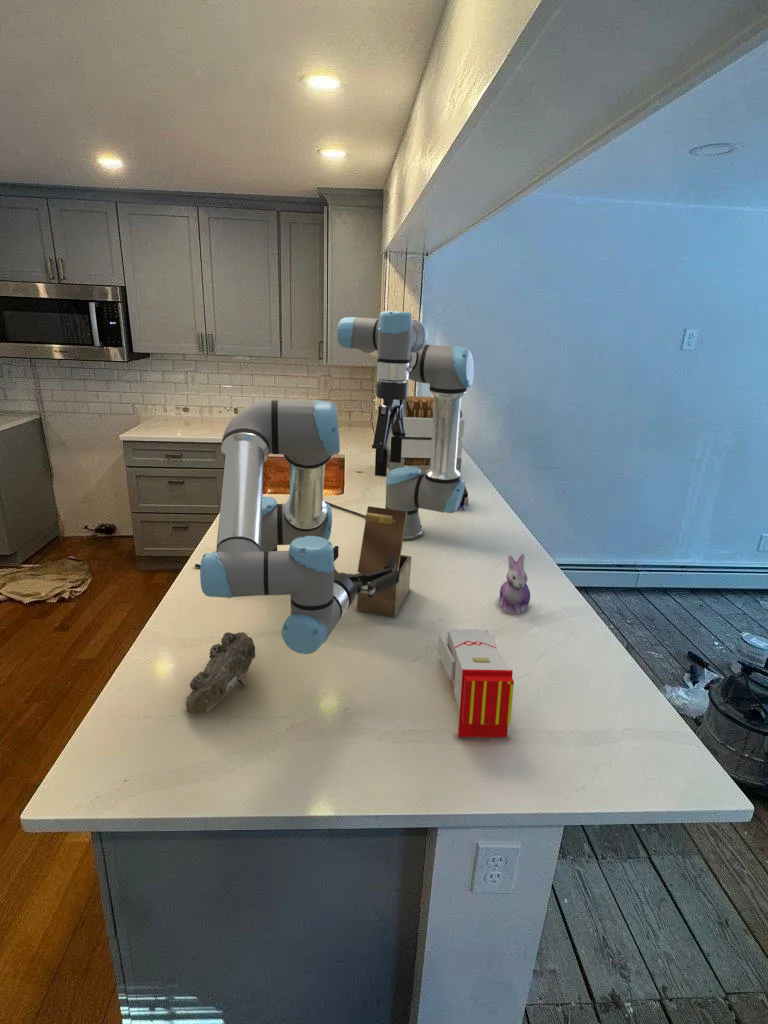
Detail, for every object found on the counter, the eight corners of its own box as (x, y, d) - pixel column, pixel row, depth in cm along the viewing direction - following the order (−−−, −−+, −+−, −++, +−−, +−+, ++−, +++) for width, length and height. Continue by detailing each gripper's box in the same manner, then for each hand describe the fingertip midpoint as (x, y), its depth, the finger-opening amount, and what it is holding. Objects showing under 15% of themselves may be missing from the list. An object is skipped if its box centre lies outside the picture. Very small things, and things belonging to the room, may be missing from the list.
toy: (488, 613, 130) (523, 677, 101) (484, 667, 133) (517, 744, 104) (435, 612, 130) (455, 676, 101) (432, 666, 133) (451, 743, 103)
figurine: (512, 619, 147) (519, 566, 142) (488, 601, 156) (494, 551, 151) (540, 611, 151) (548, 560, 146) (515, 594, 160) (522, 546, 155)
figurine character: (468, 514, 225) (463, 498, 239) (470, 497, 222) (465, 482, 235) (451, 514, 225) (447, 498, 238) (453, 497, 222) (449, 481, 235)
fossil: (206, 634, 127) (255, 603, 122) (236, 663, 130) (284, 634, 125) (163, 707, 107) (218, 674, 102) (199, 739, 110) (254, 708, 105)
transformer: (382, 463, 289) (386, 382, 275) (445, 464, 293) (451, 384, 279) (390, 482, 257) (394, 392, 243) (460, 483, 261) (468, 394, 247)
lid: (369, 506, 146) (359, 502, 138) (407, 512, 144) (400, 508, 135) (358, 572, 145) (348, 572, 137) (397, 578, 143) (389, 579, 134)
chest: (374, 584, 163) (376, 550, 159) (409, 589, 160) (411, 556, 157) (356, 610, 148) (358, 574, 145) (394, 617, 146) (396, 581, 142)
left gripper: (273, 604, 114) (314, 562, 134) (392, 626, 108) (417, 579, 128) (272, 570, 112) (314, 532, 131) (394, 591, 106) (419, 548, 125)
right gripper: (394, 388, 120) (389, 484, 127) (419, 376, 143) (414, 458, 150) (360, 385, 122) (358, 480, 129) (391, 374, 145) (387, 455, 152)
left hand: (365, 555), depth 129 cm, fingers open, 13 cm apart
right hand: (388, 468), depth 140 cm, fingers open, 13 cm apart
